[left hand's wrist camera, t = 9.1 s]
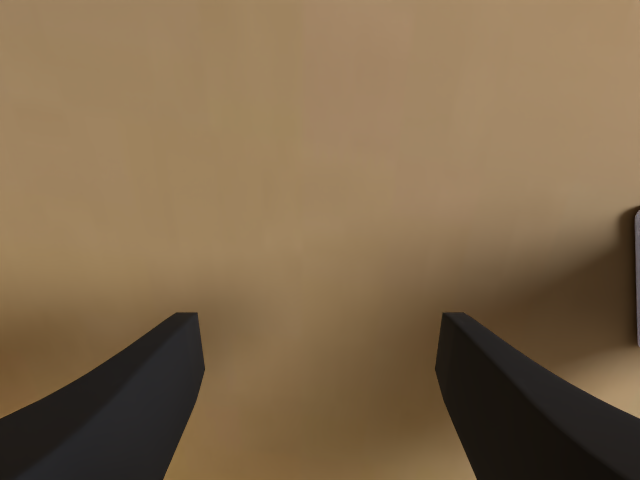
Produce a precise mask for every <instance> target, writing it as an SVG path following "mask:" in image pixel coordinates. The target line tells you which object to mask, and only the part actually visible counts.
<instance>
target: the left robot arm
mask: <svg viewBox="0 0 640 480" xmlns="http://www.w3.org/2000/svg"><path fill="white" fill-rule="evenodd" d="M635 251H636V294H637V338H638V346H639V347H640V210H639V211H638V212H637V214H636V216H635ZM204 371H205V366H204V358H203V351H202V343H201V336H200V328H199V321H198V314H197V313H175V314H173V315H172V316H170V317H169V318H167V319H166V320H164V321H163V322H162V323H160V324H159V325H157V326H156V327H155V328H153V329H152V330H151V331H149V332H148V333H146V334H145V335H144V336H142V337H141V338H139V339H138V340H137V341H135V342H134V343H132V344H131V345H130V346H128V347H127V348H125V349H124V350H122V351H121V352H119V353H118V354H116V355H115V356H113V357H112V358H110V359H109V360H107V361H106V362H104V363H103V364H101V365H100V366H98V367H96V368H95V369H93V370H92V371H90V372H89V373H87V374H85V375H84V376H82V377H81V378H79V379H77V380H75V381H74V382H72V383H70V384H68V385H67V386H65V387H63V388H61V389H59V390H58V391H56V392H54V393H52V394H50V395H48V396H47V397H45V398H43V399H41V400H39V401H37V402H35V403H33V404H30V405H28V406H26V407H24V408H22V409H20V410H18V411H16V412H14V413H12V414H10V415H8V416H5V417H3V418H1V419H0V480H163V479H164V476H165V474H166V471H167V469H168V467H169V464H170V462H171V460H172V457H173V455H174V452H175V450H176V448H177V445H178V443H179V441H180V438H181V436H182V434H183V431H184V429H185V427H186V424H187V422H188V420H189V417H190V415H191V412H192V410H193V408H194V405H195V403H196V400H197V396H198V393H199V390H200V386H201V382H202V379H203V375H204ZM435 371H436V375H437V379H438V382H439V386H440V390H441V393H442V396H443V400H444V403H445V405H446V408H447V410H448V412H449V415H450V417H451V420H452V422H453V424H454V427H455V429H456V431H457V434H458V436H459V438H460V441H461V443H462V445H463V448H464V450H465V452H466V455H467V457H468V460H469V462H470V464H471V467H472V469H473V471H474V474H475V476H476V479H477V480H640V419H639V418H637V417H635V416H633V415H631V414H628V413H626V412H624V411H622V410H620V409H618V408H616V407H614V406H612V405H610V404H608V403H606V402H604V401H602V400H600V399H598V398H596V397H594V396H592V395H590V394H588V393H587V392H585V391H583V390H581V389H579V388H577V387H576V386H574V385H572V384H570V383H568V382H567V381H565V380H563V379H562V378H560V377H558V376H556V375H555V374H553V373H552V372H550V371H548V370H547V369H545V368H544V367H542V366H541V365H539V364H537V363H536V362H534V361H533V360H531V359H530V358H528V357H527V356H525V355H524V354H522V353H521V352H519V351H518V350H516V349H515V348H513V347H512V346H511V345H509V344H508V343H506V342H505V341H504V340H502V339H501V338H499V337H498V336H497V335H495V334H494V333H492V332H491V331H490V330H488V329H487V328H486V327H484V326H483V325H481V324H480V323H479V322H477V321H476V320H474V319H473V318H471V317H470V316H468V315H467V314H465V313H443V314H442V321H441V328H440V336H439V343H438V351H437V358H436V366H435Z"/></svg>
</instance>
